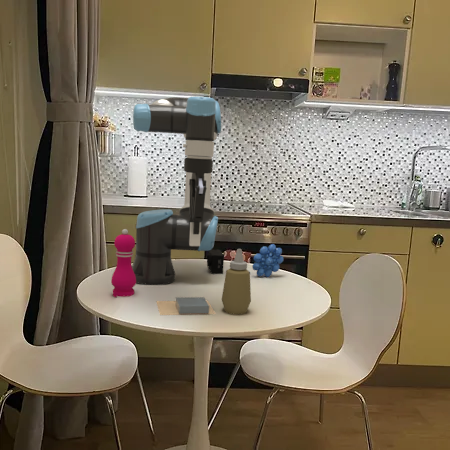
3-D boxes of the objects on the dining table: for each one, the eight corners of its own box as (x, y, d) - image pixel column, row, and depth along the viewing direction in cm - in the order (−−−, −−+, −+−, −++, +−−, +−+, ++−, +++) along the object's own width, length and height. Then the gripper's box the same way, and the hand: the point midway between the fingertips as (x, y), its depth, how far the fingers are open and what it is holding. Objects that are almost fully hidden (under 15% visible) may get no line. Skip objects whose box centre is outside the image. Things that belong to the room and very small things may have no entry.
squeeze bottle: (228, 318, 137) (232, 252, 134) (216, 309, 144) (220, 246, 141) (255, 316, 140) (259, 251, 137) (242, 307, 147) (246, 245, 145)
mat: (156, 303, 147) (156, 301, 147) (207, 302, 150) (207, 300, 150) (160, 317, 135) (160, 314, 135) (215, 316, 138) (215, 313, 138)
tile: (175, 297, 143) (179, 306, 136) (203, 297, 145) (209, 305, 137) (175, 305, 144) (179, 314, 136) (203, 305, 145) (208, 314, 138)
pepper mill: (114, 299, 148) (116, 231, 145) (108, 293, 154) (109, 227, 151) (138, 297, 151) (141, 230, 148) (131, 291, 157) (133, 226, 154)
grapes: (277, 273, 190) (279, 241, 188) (284, 278, 183) (287, 245, 182) (247, 274, 186) (249, 241, 184) (254, 279, 180) (256, 245, 178)
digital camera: (204, 267, 194) (205, 249, 193) (218, 267, 195) (219, 249, 194) (207, 274, 184) (208, 255, 183) (222, 274, 184) (223, 255, 183)
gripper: (181, 155, 140) (177, 240, 144) (188, 157, 128) (184, 250, 131) (208, 157, 142) (204, 240, 146) (217, 159, 129) (212, 250, 133)
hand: (194, 245), depth 138 cm, fingers closed
